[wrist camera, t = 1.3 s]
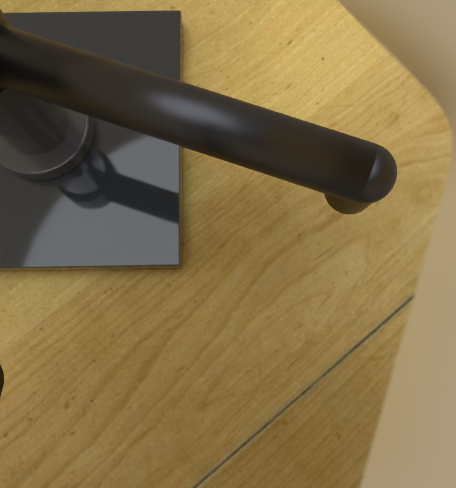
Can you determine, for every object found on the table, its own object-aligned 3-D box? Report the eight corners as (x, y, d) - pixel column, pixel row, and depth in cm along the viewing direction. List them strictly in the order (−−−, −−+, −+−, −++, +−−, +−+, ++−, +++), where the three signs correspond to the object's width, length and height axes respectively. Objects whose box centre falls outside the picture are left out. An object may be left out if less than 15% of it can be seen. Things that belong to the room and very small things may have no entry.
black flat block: (182, 268, 22) (161, 243, 15) (-91, 273, 22) (-244, 250, 15) (183, 24, 24) (164, -97, 17) (-63, 28, 24) (-182, -92, 17)
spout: (-81, 100, 16) (-145, 54, 14) (-38, 17, 17) (-91, -44, 14) (359, 247, 15) (390, 230, 13) (387, 153, 16) (422, 117, 13)
